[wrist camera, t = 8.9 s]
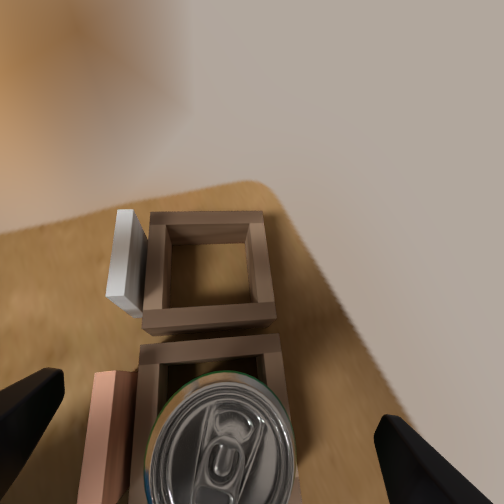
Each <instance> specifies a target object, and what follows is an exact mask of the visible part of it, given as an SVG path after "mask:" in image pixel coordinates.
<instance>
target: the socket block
mask: <svg viewBox="0 0 504 504" xmlns="http://www.w3.org/2000/svg"><path fill="white" fill-rule="evenodd" d="M227 243H245V248H246V259H247V269H248V279H249V289H250V299H251V303H245V304H230V305H214V306H199V307H183V308H170V291H171V260H172V245H191V244H227ZM106 297H107V298H108V299H109V300H111V301H112V302H113V303H115V304H116V305H117V306H119V307H120V308H121V309H123V310H124V311H125V312H126V313H128V314H129V315H130V316H132V317H133V318H142V329H143V330H144V331H146V332H147V333H149V334H150V335H151V336H164V335H176V334H189V333H201V332H214V331H226V330H238V329H251V328H263V327H268V326H269V325H271V324H272V323H273V322H274V321H275V320H276V319H277V315H276V308H275V300H274V293H273V286H272V278H271V271H270V264H269V257H268V249H267V242H266V235H265V227H264V220H263V213H262V211H189V212H150V225H149V238H148V239H147V237H146V235H145V233H144V231H143V229H142V227H141V224H140V222H139V220H138V218H137V216H136V214H135V212H134V210H118V211H117V218H116V225H115V232H114V240H113V247H112V254H111V261H110V268H109V276H108V283H107V290H106ZM254 357H256V361H257V371H258V380H260V381H261V382H263V383H264V384H265V385H266V386H268V387H269V388H270V389H271V390H272V391H273V392H274V393H275V395H276V396H277V397H278V398H279V400H280V401H281V403H282V405H283V406H284V408H285V409H286V412H287V414H288V416H289V419H290V421H291V417H290V410H289V403H288V395H287V388H286V381H285V373H284V366H283V359H282V351H281V344H280V337H279V333H274V334H263V335H251V336H239V337H227V338H215V339H204V340H192V341H180V342H168V343H156V344H145V345H140V356H139V369H138V372H127V371H107V372H96V373H95V376H94V383H93V391H92V398H91V405H90V412H89V419H88V427H87V434H86V441H85V448H84V455H83V463H82V470H81V477H80V484H79V491H78V498H77V504H116V503H117V502H118V501H119V499H120V498H121V497H122V496H123V494H124V493H125V492H126V490H127V489H128V488H129V487H130V488H129V501H128V504H148V503H147V499H146V495H145V490H144V479H143V467H144V456H145V450H146V445H147V441H148V438H149V435H150V432H151V429H152V427H153V425H154V422H155V420H156V418H157V416H158V415H159V413H160V411H161V410H162V408H163V407H164V405H165V404H166V403H167V382H168V366H173V365H183V364H193V363H203V362H214V361H224V360H234V359H244V358H254ZM288 504H302V497H301V490H300V483H299V476H298V468H297V463H296V473H295V480H294V484H293V488H292V492H291V495H290V499H289V501H288Z"/></svg>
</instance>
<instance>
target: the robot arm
mask: <svg viewBox="0 0 504 504" xmlns="http://www.w3.org/2000/svg"><path fill="white" fill-rule="evenodd" d="M64 394H65V387H64V373H63V371H62V370H61V369H56V368H49V367H48V368H43V369H41V370H39V371H37V372H35V373H33V374H31V375H30V376H28V377H26V378H24V379H22V380H20V381H18V382H16V383H14V384H12V385H10V386H8V387H6V388H5V389H3V390H1V391H0V500H1V499H2V497H3V496H4V495H5V493H6V492H7V490H8V489H9V487H10V486H11V485H12V483H13V482H14V480H15V479H16V477H17V476H18V474H19V473H20V471H21V470H22V468H23V467H24V465H25V464H26V462H27V460H28V459H29V457H30V456H31V454H32V452H33V450H34V449H35V447H36V445H37V444H38V442H39V440H40V438H41V437H42V435H43V433H44V432H45V430H46V428H47V426H48V425H49V423H50V421H51V420H52V418H53V416H54V414H55V413H56V411H57V409H58V408H59V406H60V404H61V402H62V400H63V398H64ZM374 444H375V448H376V452H377V456H378V460H379V464H380V468H381V472H382V476H383V480H384V483H385V487H386V491H387V495H388V499H389V503H390V504H493V503H492V502H491V501H490V500H489V499H488V498H487V497H485V496H484V495H483V494H482V493H481V492H480V491H479V490H478V489H477V488H476V487H475V486H474V485H473V484H472V483H471V482H469V481H468V480H467V479H466V478H465V477H464V476H463V475H462V474H461V473H460V472H459V471H458V470H456V469H455V468H454V467H453V466H452V465H451V464H450V463H449V462H448V461H447V460H446V459H445V458H444V457H443V456H441V455H440V454H439V453H438V452H437V451H436V450H435V449H434V448H433V447H432V446H431V445H430V444H429V443H427V442H426V441H425V440H424V439H423V438H422V437H421V436H420V435H419V434H418V433H417V432H416V431H415V430H413V429H412V428H411V427H410V426H409V425H408V424H407V423H406V422H405V421H404V420H403V419H402V418H400V417H399V416H395V415H388V414H385V415H383V416H382V418H381V420H380V422H379V424H378V426H377V429H376V431H375V433H374Z"/></svg>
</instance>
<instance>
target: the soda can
mask: <svg viewBox="0 0 504 504" xmlns="http://www.w3.org/2000/svg"><path fill="white" fill-rule="evenodd" d="M296 463H297V456H296V442H295V436H294V431H293V428H292V424H291V421H290V419H289V416H288V414H287V412H286V409H285V408H284V406H283V405H282V403H281V401H280V400H279V398H278V397H277V396H276V395H275V393H274V392H273V391H272V390H271V389H270V388H269V387H268V386H266V385H265V384H264V383H263V382H261V381H260V380H258V379H257V378H255V377H253V376H250V375H248V374H246V373H242V372H238V371H230V370H221V371H213V372H210V373H206V374H203V375H201V376H199V377H196V378H194V379H192V380H191V381H189V382H188V383H186V384H185V385H183V386H182V387H181V388H180V389H179V390H178V391H177V392H175V393H174V394H173V395H172V397H171V398H170V399H169V400H168V401H167V403H166V404H165V405H164V407H163V408H162V410H161V411H160V413H159V415H158V416H157V418H156V420H155V422H154V425H153V427H152V429H151V432H150V435H149V438H148V441H147V445H146V450H145V456H144V467H143V479H144V490H145V495H146V499H147V503H148V504H288V501H289V499H290V495H291V492H292V488H293V484H294V480H295V473H296Z"/></svg>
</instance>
